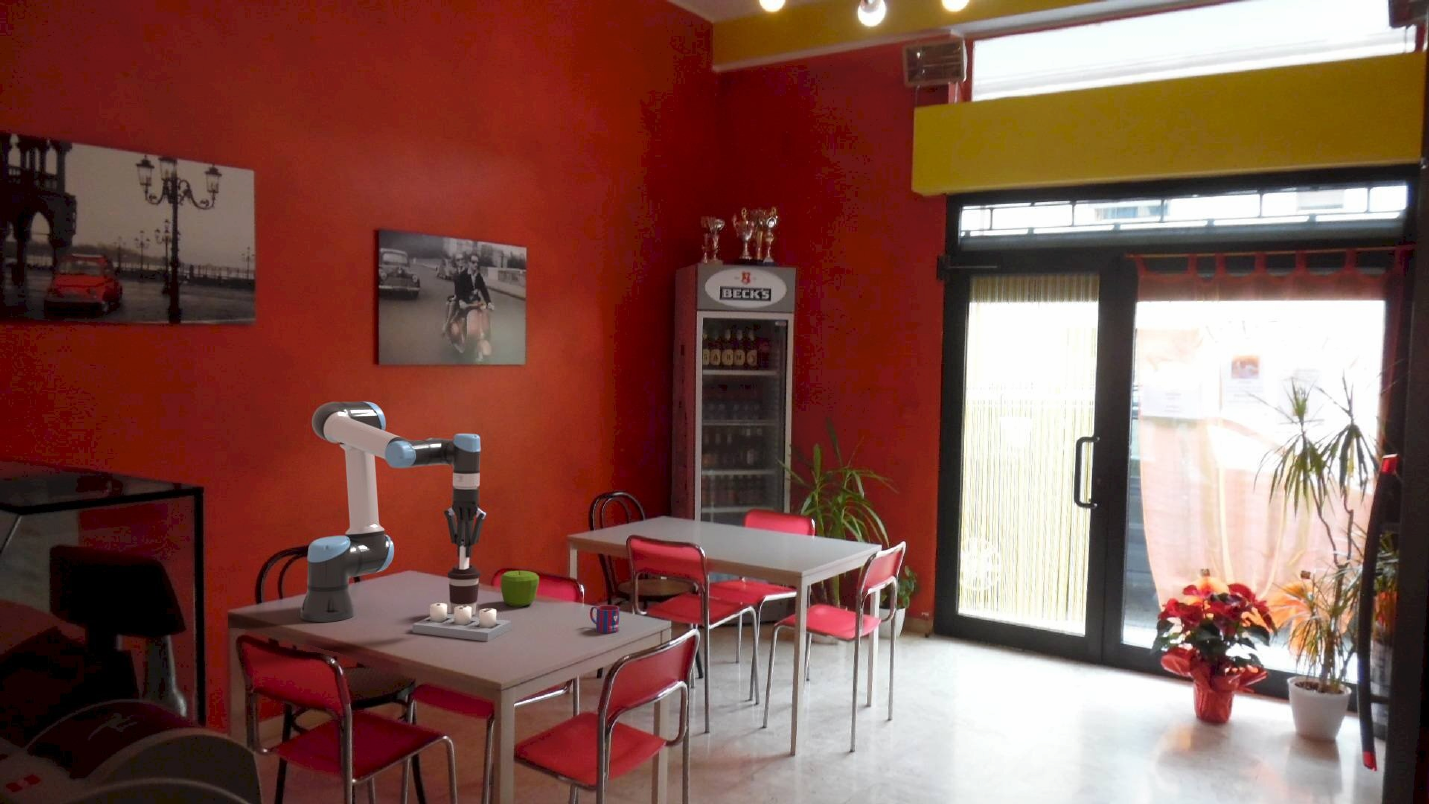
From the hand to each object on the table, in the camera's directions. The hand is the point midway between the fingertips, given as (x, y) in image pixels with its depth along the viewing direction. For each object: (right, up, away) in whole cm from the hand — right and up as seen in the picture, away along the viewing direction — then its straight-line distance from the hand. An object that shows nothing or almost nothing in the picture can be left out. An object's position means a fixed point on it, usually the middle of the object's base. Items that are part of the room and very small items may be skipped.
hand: (464, 568), depth 283 cm
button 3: (+7, -16, -2) cm, 18 cm away
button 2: (-1, -16, +1) cm, 16 cm away
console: (-1, -18, +1) cm, 18 cm away
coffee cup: (-5, -18, +19) cm, 26 cm away
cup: (+40, -20, +7) cm, 45 cm away
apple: (+9, -18, +34) cm, 39 cm away
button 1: (-8, -16, +3) cm, 18 cm away
